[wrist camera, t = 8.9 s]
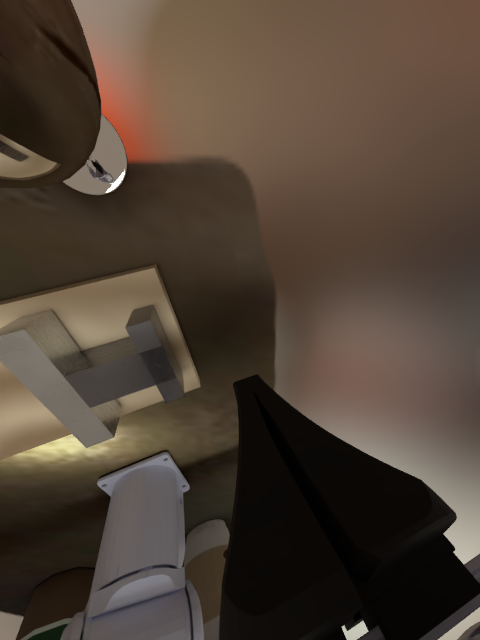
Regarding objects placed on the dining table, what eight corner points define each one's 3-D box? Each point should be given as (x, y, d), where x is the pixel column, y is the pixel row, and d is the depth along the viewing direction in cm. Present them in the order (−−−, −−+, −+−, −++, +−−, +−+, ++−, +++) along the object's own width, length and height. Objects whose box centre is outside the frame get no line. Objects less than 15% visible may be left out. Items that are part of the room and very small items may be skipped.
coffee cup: (245, 520, 39) (282, 664, 27) (196, 552, 39) (209, 715, 26) (217, 505, 34) (246, 680, 21) (159, 543, 33) (152, 746, 20)
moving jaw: (187, 384, 19) (190, 408, 17) (98, 416, 17) (86, 447, 15) (145, 285, 14) (140, 298, 12) (16, 318, 13) (-20, 341, 10)
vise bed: (198, 376, 21) (200, 386, 20) (-66, 470, 17) (-86, 491, 16) (155, 263, 15) (154, 267, 14) (-264, 364, 11) (-321, 382, 10)
